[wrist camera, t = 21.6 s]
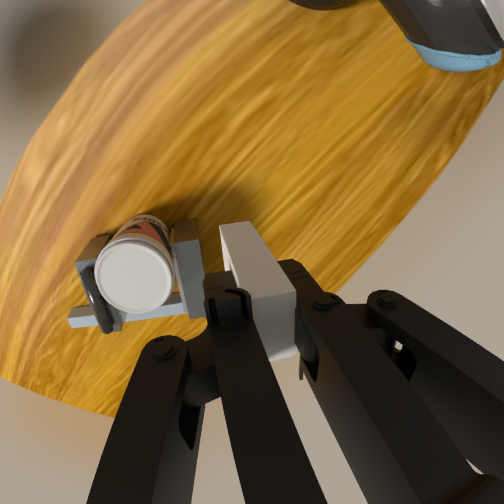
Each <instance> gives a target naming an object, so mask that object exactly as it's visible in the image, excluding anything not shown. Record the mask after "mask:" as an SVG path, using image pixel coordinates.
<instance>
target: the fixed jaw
mask: <svg viewBox="0 0 504 504" xmlns="http://www.w3.org/2000/svg"><path fill="white" fill-rule="evenodd" d="M169 246H170V250H171V252H172V257H173V265H174V269H175V274H176V278H177V283H178V287H179V291H180V296H181V300H182V304H183V308H184V312H188V313H189V317H190V319H193V318H200V317H206V313H205V308H204V299H205V296H204V289H203V282H202V281H203V280H204V278H205V272H204V266H203V260H202V254H201V248H200V242H199V235H198V229H197V222H196V219H190V220H184V221H178V222H175V228H171V235H170V244H169Z"/></svg>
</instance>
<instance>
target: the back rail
mask: <svg viewBox="0 0 504 504" xmlns="http://www.w3.org/2000/svg"><path fill="white" fill-rule="evenodd" d="M184 313H188V312H184V308H183V304H182V300H181V296H180V293H173V294H171V295H170V297H169V298H168V299H167V300H166V302H164V303H163V304H162V305H161V306H160V307H158V308H156V309H155V310H153V311H150V312H146V313H129V312H128V313H127V317H126V322H128V321H136V320H143V319H150V318H157V317H164V316H171V315H178V314H184ZM67 320H68V322H69V324H70V326H71V328H77V327H87V326H96V325H98V322H97V320H96V318H95V315H94V313H93V310H92V308H91V306H84V307H76V308H72V309H71V311H70V313H69V315H68V317H67Z"/></svg>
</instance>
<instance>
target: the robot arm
mask: <svg viewBox="0 0 504 504" xmlns="http://www.w3.org/2000/svg"><path fill="white" fill-rule="evenodd" d="M289 1H291V2H293V3H295V4H297V5H300V6H303V7H306V8H310V9H315V10H331V9H335V8H338V7H340V6H342V5H344V4H345V3H347V2H349V1H350V0H289ZM379 1H380V3H381V4H382V5H383V6H384V8H385V9H386V10H387V12H388V13H389V14H390V15H391V17H392V18H393V19H394V21H395V22H396V24H397V25H398V26H399V28H400V29H401V31H402V32H403V33H404V35H405V38H406V40H407V41H408V42H409V43H410V44H412V46H413V47H414V48H415V50H416V51H417V53H418V54H419V56H420V57H421V58H422V60H423V61H424V62H426V63H427V64H428V65H430V66H433V67H434V68H437V69H440V70H444V71H452V72H466V71H476V70H481V69H484V68H486V66H493V65H495V64H496V63H498V62H499V60H500V59H501V48H504V0H379ZM219 228H220V236H221V244H222V251H223V259H224V267H225V271H223V272H217V273H211V274H207V275H206V276H205V278H204V280H203V281H202V282H203V289H204V296H205V299H204V308H205V313H206V318H207V323H208V325H207V327H206V329H205V330H204V331H203V332H202V333H201V334H200V335H199V336H197V337H195V338H193V339H191V340H188V341H186V342H185V341H184V340H183V339H181V338H179V337H178V336H172V335H166V336H160V337H157V338H155V339H152V340H151V341H150V342H148V343H147V344H146V345H145V347H144V348H143V350H142V352H141V354H140V356H139V359H138V361H137V364H136V366H135V368H134V371H133V373H132V376H131V378H130V381H129V383H128V386H127V388H126V391H125V393H124V396H123V398H122V401H121V403H120V406H119V409H118V411H117V414H116V417H115V419H114V422H113V425H112V427H111V430H110V433H109V436H108V439H107V442H106V444H105V447H104V450H103V453H102V456H101V459H100V462H99V465H98V468H97V471H96V474H95V477H94V480H93V483H92V486H91V490H90V493H89V496H88V500H87V503H86V504H191V500H192V492H193V485H194V478H195V471H196V464H197V457H198V451H199V444H200V437H201V431H202V424H203V418H204V410H205V404H206V403H208V402H210V401H212V400H214V399H217V398H219V397H221V400H222V405H223V410H224V415H225V420H226V424H227V429H228V434H229V437H230V443H231V447H232V451H233V455H234V460H235V464H236V468H237V472H238V476H239V480H240V484H241V488H242V492H243V496H244V500H245V503H246V504H328V503H327V501H326V499H325V497H324V494H323V492H322V490H321V487H320V485H319V483H318V480H317V478H316V475H315V473H314V470H313V468H312V466H311V463H310V461H309V458H308V456H307V454H306V452H305V449H304V446H303V444H302V442H301V439H300V437H299V434H298V432H297V429H296V427H295V424H294V422H293V419H292V417H291V415H290V412H289V410H288V408H287V405H286V403H285V400H284V397H283V394H282V392H281V389H280V387H279V384H278V382H277V379H276V377H275V374H274V372H273V369H272V367H271V364H270V361H274V360H278V359H283V358H287V357H291V356H294V355H295V344H296V346H297V348H298V350H299V352H300V364H299V378H300V380H303V372H304V374H305V376H306V378H307V380H308V382H309V384H310V387H311V389H312V391H313V393H314V394H315V397H316V399H317V401H318V403H319V405H320V407H321V409H322V411H323V413H324V415H325V417H326V419H327V421H328V423H329V425H330V427H331V429H332V432H333V434H334V436H335V438H336V440H337V442H338V443H339V446H340V448H341V450H342V452H343V454H344V456H345V458H346V460H347V462H348V464H349V466H350V468H351V470H352V472H353V474H354V476H355V478H356V480H357V482H358V484H359V486H360V488H361V490H362V492H363V494H364V496H365V498H366V500H367V502H368V504H504V361H502V360H501V359H499V358H498V357H497V356H495V355H494V354H492V353H491V352H489V351H488V350H486V349H485V348H483V347H482V346H480V345H479V344H477V343H476V342H474V341H473V340H471V339H470V338H468V337H467V336H465V335H463V334H462V333H461V332H459V331H457V330H456V329H454V328H453V327H451V326H450V325H448V324H447V323H445V322H443V321H442V320H440V319H439V318H437V317H436V316H434V315H433V314H431V313H429V312H428V311H426V310H424V309H423V308H421V307H420V306H418V305H416V304H415V303H413V302H412V301H410V300H408V299H407V298H405V297H404V296H402V295H400V294H398V293H396V292H394V291H390V290H378V291H374V292H372V293H371V294H370V295H369V296H368V299H367V304H346V303H345V302H344V301H343V300H342V299H341V298H340V297H338V296H337V295H335V294H333V293H329V292H324V291H323V290H322V289H321V287H320V286H319V285H318V284H317V282H316V281H315V280H314V279H313V277H312V276H310V274H309V273H308V271H306V269H305V268H304V266H303V265H302V264H301V263H299V262H297V261H295V260H293V259H288V260H282V261H276V259H275V258H274V256H273V255H272V253H271V252H270V250H269V249H268V247H267V246H266V244H265V243H264V241H263V240H262V238H261V237H260V236H259V234H258V233H257V231H256V230H255V228H254V227H253V225H252V224H251V222H250V221H244V222H237V223H230V224H224V225H219ZM396 341H398V342H400V343H401V344H402V345H403V347H402V349H401V350H398V349H396V348H395V344H396ZM465 458H466V459H467V460H468V461H469V462H470V463H472V464H473V465H474V466H475V467H476V468H478V469H479V470H480V471H481V472H482V473H483V474H479V473H477V472H475V471H474V470H473V469H472V467H471V466H470V465H469V463H468V462H467V460H466V459H465Z"/></svg>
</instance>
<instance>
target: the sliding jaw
mask: <svg viewBox="0 0 504 504" xmlns="http://www.w3.org/2000/svg"><path fill="white" fill-rule="evenodd" d="M110 241H111V236H110V235H106V236H100V237H95V238H92V239H91V240H90V241H89V243H88V244H87V246H86V247H85V248H84V250H83V251H82V253H81V254H80V255H79V257H78V258H77V260H76V261H75V265H76V268H77V271H78V274H79V276H80V279H81V282H82V285H83V287H84V290H85V293H86V295H87V298H88V301H89V303H90V306H91V308H92V310H93V313H94V315H95V318H96V320H97V322H98V325H99V327H100V329H101V331H102V333H105V334H109V333H111V332H116V331H122V326H123V323H125V322H126V317H127V313H128V312H125V311H122V310H120V309H117V308H116V307H114V306H113V305H111V304H110V303H109V302H108V301H107V300H106V299H105V298H104V297H103V296H102V294H101V293H100V291H99V289H98V286H97V283H96V280H95V272H94V271H95V264H96V260H97V258H98V256H99V254H100V252H101V251H102V250H103V248H104V247H105V246H106V245H108V243H109V242H110Z"/></svg>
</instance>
